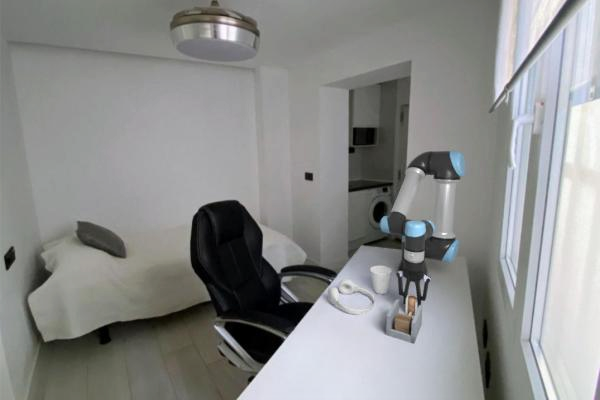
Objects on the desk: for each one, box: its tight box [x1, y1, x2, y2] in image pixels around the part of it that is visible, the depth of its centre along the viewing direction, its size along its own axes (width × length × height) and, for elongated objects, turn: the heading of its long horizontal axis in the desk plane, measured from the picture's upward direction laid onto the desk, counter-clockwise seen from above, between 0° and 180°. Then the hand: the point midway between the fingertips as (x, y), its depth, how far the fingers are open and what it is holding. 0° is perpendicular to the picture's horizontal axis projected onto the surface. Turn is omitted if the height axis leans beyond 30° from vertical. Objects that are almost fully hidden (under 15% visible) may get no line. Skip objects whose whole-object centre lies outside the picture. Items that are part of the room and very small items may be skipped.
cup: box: [369, 265, 392, 295], centre depth 142 cm, size 10×10×11 cm
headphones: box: [327, 278, 376, 316], centre depth 134 cm, size 7×18×20 cm
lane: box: [385, 299, 423, 344], centre depth 113 cm, size 13×10×8 cm
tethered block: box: [394, 295, 417, 335], centre depth 118 cm, size 19×5×7 cm, turn 148°
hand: (411, 312), depth 124 cm, fingers closed on tethered block, 3 cm apart
